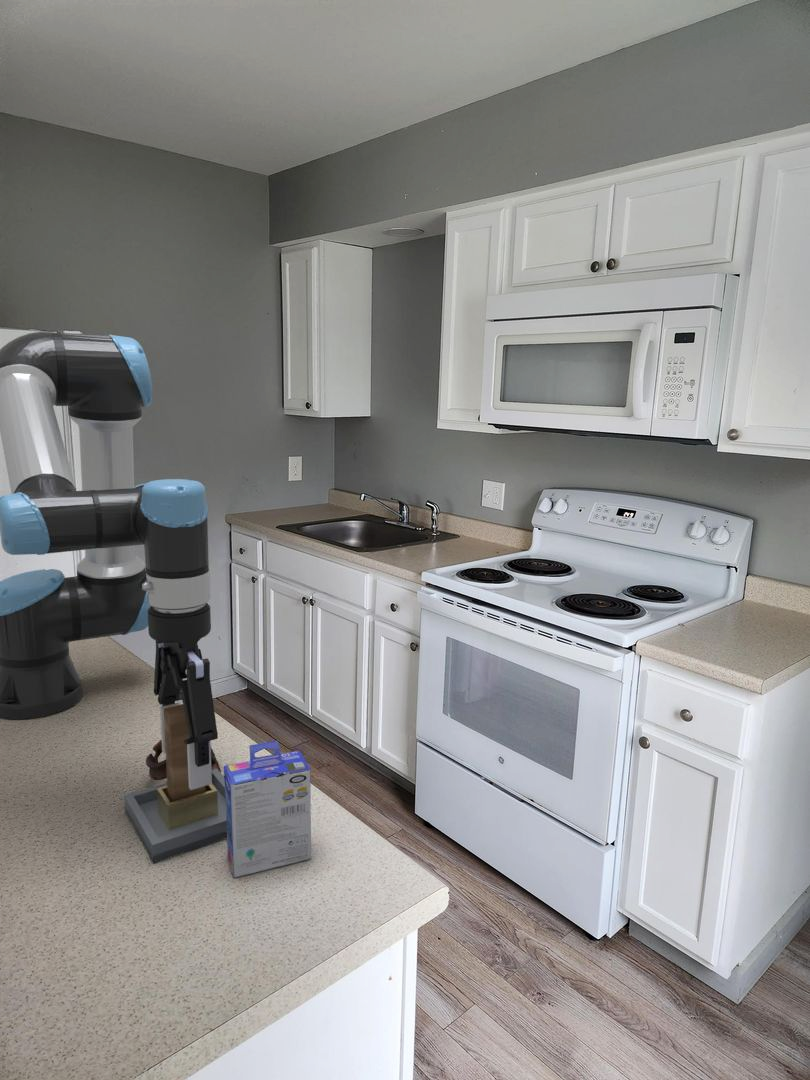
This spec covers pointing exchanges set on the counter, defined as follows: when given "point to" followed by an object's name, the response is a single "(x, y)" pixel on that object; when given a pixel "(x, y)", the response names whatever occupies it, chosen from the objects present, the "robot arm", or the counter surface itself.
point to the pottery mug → (159, 769)
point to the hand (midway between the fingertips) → (186, 766)
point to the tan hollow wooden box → (187, 807)
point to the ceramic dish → (180, 839)
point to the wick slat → (177, 754)
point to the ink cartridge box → (267, 810)
